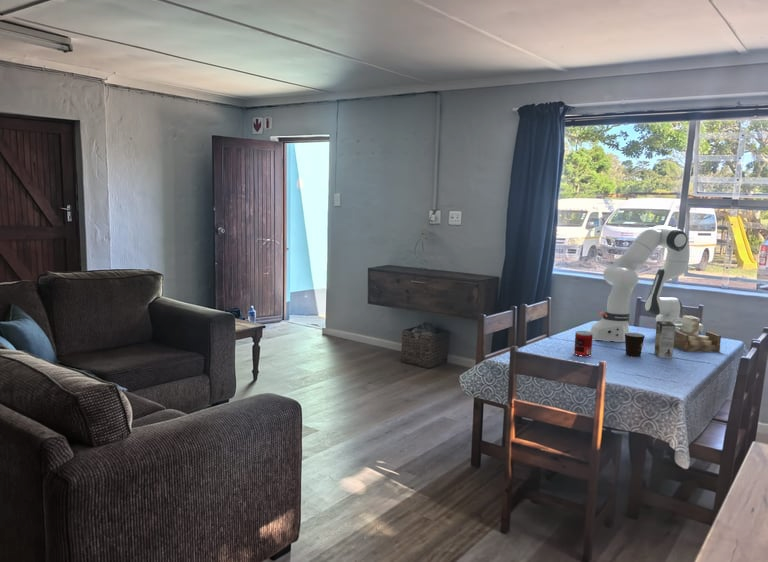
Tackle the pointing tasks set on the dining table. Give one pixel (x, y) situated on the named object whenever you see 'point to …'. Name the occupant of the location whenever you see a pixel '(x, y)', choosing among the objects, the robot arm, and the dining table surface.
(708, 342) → the front plywood offcut
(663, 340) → the coffee box
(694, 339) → the back plywood offcut
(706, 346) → the walnut rack
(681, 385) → the dining table surface
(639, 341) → the brown paper cup
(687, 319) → the pale wood block
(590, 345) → the canned food
